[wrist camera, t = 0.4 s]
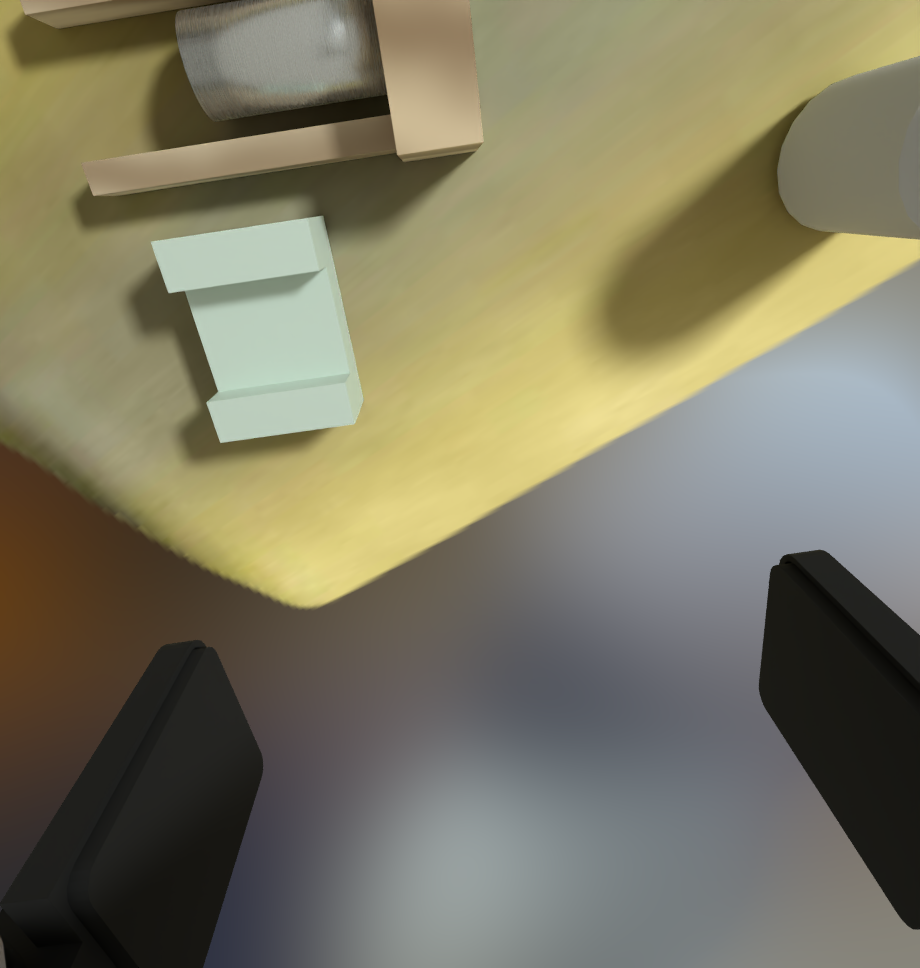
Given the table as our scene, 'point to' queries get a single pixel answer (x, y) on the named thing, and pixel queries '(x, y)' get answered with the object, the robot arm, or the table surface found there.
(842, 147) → the can
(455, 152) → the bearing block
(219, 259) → the v block
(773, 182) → the table surface
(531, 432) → the table surface
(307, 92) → the axle
